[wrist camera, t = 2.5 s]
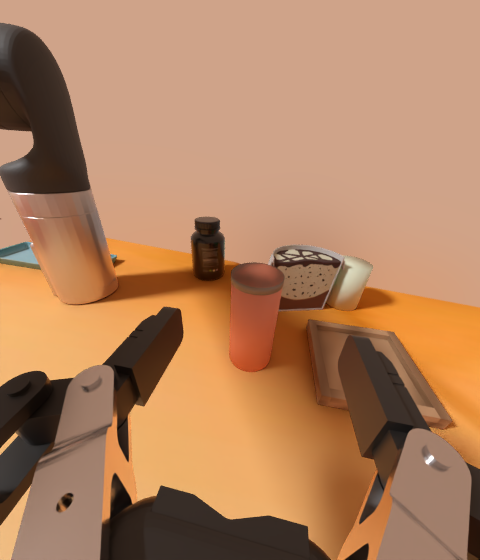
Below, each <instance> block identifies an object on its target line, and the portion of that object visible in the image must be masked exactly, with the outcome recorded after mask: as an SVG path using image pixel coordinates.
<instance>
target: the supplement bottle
mask: <svg viewBox="0 0 480 560" xmlns="http://www.w3.org/2000/svg"><path fill="white" fill-rule="evenodd" d="M219 229H220V220H219V219H218V218H215V217H199V218H196V219H195V230H196V232H194V233H193V234H192V236H191V249H192V262H193V273H194V275H195V276H196V277H197V278H198V279H201V280H207V281H209V280H216V279H219V278H220V277H222V276H223V274H224V257H225V251H224V250H225V238H224V236H223V234H222V233H221V232H219Z"/></svg>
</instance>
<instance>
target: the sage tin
mask: <svg viewBox="0 0 480 560" xmlns="http://www.w3.org/2000/svg"><path fill="white" fill-rule="evenodd" d="M343 257H345V259H344V261H345V266H344V269H342V268H341V269H340V271H339V273H338V276H337V278H336V280H335V283H334V285H333V287H332V289H331V292H330V294H329V296H328V299H327V301H326V303H327V304H328V305H329V306H331V307H333V308H335V309H338V310H343V311H352V310H355V309H356V308H357V305H358V303H359V300H360V298H361V296H362V293H363V291H364V288H365V286H366V283H367V281H368V278H369V276H370V274H371V271H372V269H373V266H372V265H371V264H370V263H369V262H367V261H365V260H363V259H360V258H356V257H352V256H343Z"/></svg>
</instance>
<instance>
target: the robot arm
mask: <svg viewBox="0 0 480 560" xmlns="http://www.w3.org/2000/svg"><path fill="white" fill-rule="evenodd" d="M0 129H6V130H18V131H32V134H33V139H34V145H33V148H32V149H31V151H30V152H29V153H28V154H27V155H25V156H24V157H22V158H20V159H18V160H16V161H13V162H10V163H7V164H4V165H2V166H1V167H0V176H1V178H2V181H3V183H4V185H5V187H6V189H7V190H8V193H9V195H10V197H11V199H12V201H13V203H14V205H15V207H16V209H17V212H18V214H19V216H20V218H21V220H22V222H23V224H24V226H25V228H26V230H27V232H28V234H29V236H30V239H31V241H32V243H31V244H30V247H31V249H32V251H33V253H34V255H35V257H36V259H37V261H38V263H39V265H40V267H41V270H42V272H43V274H44V276H45V278H46V280H47V282H48V284H49V286H50V288H51V290H52V292H53V294H54V295H56V296H58V297H59V299H60V300H61V301H62V302H64V303H67V304H84V303H90V302H93V301H97V300H100V299H102V298H105V297H107V296H109V295H110V294H112V293H113V292H114V291H115V290H116V289H117V288H118V285H119V284H118V280H117V277H116V273H115V270H114V266H113V262H112V259H111V255H110V252H109V249H108V245H107V242H106V238H105V235H104V231H103V228H102V225H101V221H100V218H99V214H98V211H97V208H96V204H95V201H94V197H93V194H92V190H91V189H90V184H89V180H88V175H87V168H86V162H85V158H84V154H83V150H82V147H81V142H80V138H79V134H78V130H77V126H76V121H75V116H74V112H73V107H72V104H71V100H70V96H69V92H68V89H67V86H66V83H65V80H64V77H63V75H62V73H61V70H60V68H59V66H58V64H57V62H56V60H55V58H54V57H53V55H52V53H51V52H50V50H49V49H48V47H47V46H46V45H45V44H44V42H43V41H42V40H41V39H40V38H39V37H38V36H36V34H34V33H33V32H31V31H29V30H28V29H25V28H23V27H19V26H15V25H11V24H5V23H0ZM182 339H183V324H182V316H181V310H180V309H178V308H171V307H163V308H162V309H161V310H160V311H159V313H158V314H157V315H156V316H155V315H152V316H150V317H148V318H147V319H145V320H144V321H142V322H141V323H140V324H139V325H138V327H137V328H136V329H135V331H133V332H132V333H131V334H130V335H129V337H127V339H126V340H125V341H124V342H123V343H122V344H121V345H120V346H119V347H118V348H117V349H116V351H115V352H114V353H113V354H112V355H111V356H110V357H109V358H108V359H107V360H106V361H105V362H104V363H103V364H102V365H97V366H93V367H90V368H88V369H86V370H84V371H82V372H81V373H79V374H78V375H77V376H76V377H75V378H68V379H59V380H49V378H48V377H47V375H46V374H45V373H44V372H41V371H31V372H27V373H24V374H21V375H19V376H17V377H15V378H13V379H11V380H9V381H8V382H6V383H5V384H3V385H2V386H1V387H0V448H1V447H2V446H3V444H4V443H5V442H6V441H7V440H8V439H9V438H10V437H11V436H12V435H13V434H14V433H15V432H16V433H17V434H18V435H19V436H18V437H17V438H16V439H15V440H14V441H13V442H12V443H11V444H10V445H9V446H8V447H7V449H6V450H5V451H4V452H3V453H2V454H1V455H0V525H1V524H2V523H3V521H4V520H5V519H6V517H7V516H8V515H9V513H10V512H11V511H12V509H13V508H14V507H15V505H16V504H17V503H18V501H19V500H20V499H21V497H22V496H23V495H24V493H25V492H26V491H27V489H28V488H29V487H30V485H31V484H32V485H31V488H30V492H29V496H28V499H27V503H26V507H25V510H24V514H23V518H22V521H21V525H20V529H19V532H18V536H17V540H16V543H15V547H14V551H13V554H12V558H11V560H331V559H330V558H329V557H328V556H327V555H326V553H325V552H324V551H323V550H322V549H320V548H319V547H318V546H317V545H316V544H315V543H314V542H312V541H311V540H309V538H308V526H304V525H301V524H297V523H294V522H290V521H287V520H283V519H279V518H276V517H272V516H260V517H251V518H242V519H233V520H230V519H227V518H225V517H223V516H222V515H221V514H219V513H218V512H217V511H215V510H214V509H213V508H211V507H210V506H209V505H207V504H206V503H205V502H203V501H202V500H201V499H199V498H198V497H197V496H195V495H193V494H190V493H186V492H183V491H179V490H176V489H172V488H168V487H165V486H160V489H159V491H158V494H157V496H152V497H149V498H145V499H142V500H140V501H138V502H137V491H136V482H135V476H134V472H133V465H132V444H131V420H130V411H131V410H132V408H133V406H134V405H135V404H136V405H140V406H145V404H146V403H147V401H148V399H149V397H150V396H151V394H152V392H153V391H154V389H155V387H156V385H157V384H158V382H159V380H160V378H161V377H162V375H163V373H164V372H165V370H166V368H167V366H168V365H169V363H170V361H171V360H172V358H173V356H174V354H175V353H176V351H177V349H178V347H179V346H180V344H181V342H182ZM338 372H339V376H340V380H341V383H342V387H343V391H344V394H345V398H346V401H347V405H348V409H349V412H350V416H351V420H352V423H353V427H354V431H355V434H356V438H357V441H358V445H359V449H360V452H361V456H362V457H366V458H370V459H374V461H375V464H376V467H377V470H376V471H375V473H374V475H373V478H372V481H371V483H370V486H369V488H368V491H367V493H366V496H365V498H364V501H363V504H362V506H361V509H360V511H359V514H358V516H357V519H356V521H355V524H354V526H353V528H352V530H351V532H350V533H349V535H348V537H347V538H346V540H345V542H344V544H343V546H342V548H341V551H340V553H339V555H338V558H337V560H480V469H478V468H476V467H474V466H472V465H470V464H468V463H466V462H465V461H464V460H463V458H462V457H461V456H460V454H459V453H458V452H457V451H456V450H455V449H454V448H453V447H452V446H451V445H450V444H449V443H448V442H446V441H445V440H444V439H442V438H441V437H440V436H438V435H436V434H434V433H432V432H431V430H430V428H429V427H428V425H427V423H426V421H425V420H424V418H423V416H422V414H421V413H420V411H419V409H418V407H417V405H416V404H415V402H414V400H413V398H412V397H411V395H410V393H409V391H408V390H407V388H406V387H405V384H404V382H403V381H402V379H401V377H399V374H398V372H397V370H396V368H395V367H394V365H393V363H392V362H391V361H390V360H389V359H388V358H387V357H386V356H385V355H384V354H383V353H382V352H379V351H376V350H375V348H374V346H373V344H372V342H371V340H370V339H369V338H367V337H360V336H353V335H349V336H348V337H347V339H346V341H345V344H344V346H343V349H342V351H341V354H340V356H339V359H338Z"/></svg>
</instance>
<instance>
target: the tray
mask: <svg viewBox="0 0 480 560" xmlns="http://www.w3.org/2000/svg"><path fill="white" fill-rule="evenodd" d="M307 334H308V341H309V348H310V355H311V362H312V369H313V375H314V382H315V389H316V396H317V403H318V404H320V405H325V406H330V407H335V408H340V409H344V410H349V409H348V405H347V401H346V398H345V394H344V391H343V387H342V383H341V380H340V376H339V372H338V359H339V356H340V354H341V351H342V349H343V346H344V344H345V341H346V339H347V337H348V336H349V335H353V336H360V337H367V338H369V339H370V340H371V342H372V344H373V346H374V348H375V350H376V351H379V352H382V353H383V354H384V355H385V356H386V357H387V358H388V359H389V360H390V361H391V362H392V363H393V365H394V367H395V368H396V370H397V372H398V374H399V377H401V379H402V381H403V382H404V384H405V387H406V388H407V390H408V391H409V393H410V395H411V397H412V398H413V400H414V402H415V404H416V405H417V407H418V409H419V411H420V413H421V414H422V416H423V418H424V420H425V421H426V423H427V425H428V426H429V427H434V428H439V429H445V428H446V427H447V426H448V425H449V424H450V423H451V422H452V419H451V418H450V416H449V415H448V413H447V412H446V410H445V409H444V407H443V406H442V404H441V403H440V401H439V400H438V398H437V397H436V395H435V394H434V392H433V391H432V389H431V388H430V386H429V385H428V383H427V382H426V380H425V379H424V377H423V375H422V374H421V372H420V371H419V369H418V368H417V366H416V365H415V363H414V362H413V360H412V359H411V357H410V356H409V354H408V353H407V351H406V350H405V348H404V347H403V345H402V344H401V342H400V341H399V339H398V338H397V336H396V335H395V333H394V332H390V331H383V330H376V329H370V328H363V327H356V326H350V325H343V324H336V323H329V322H323V321H316V320H308V324H307Z"/></svg>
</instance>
